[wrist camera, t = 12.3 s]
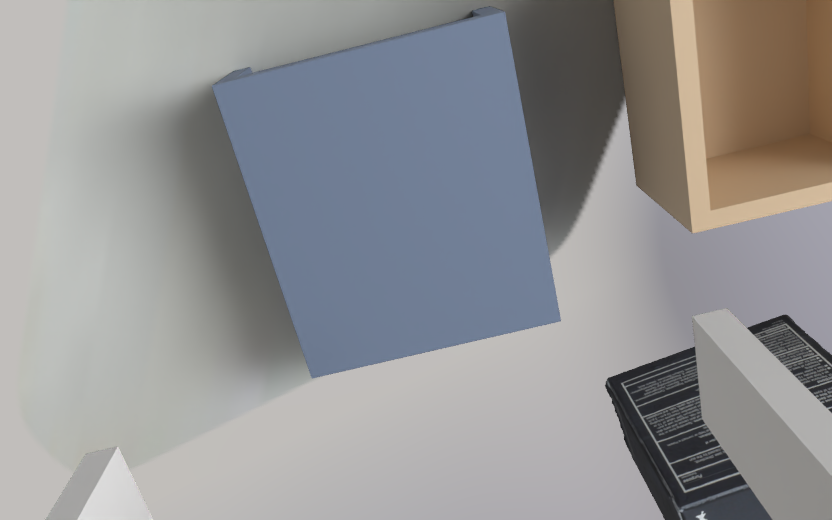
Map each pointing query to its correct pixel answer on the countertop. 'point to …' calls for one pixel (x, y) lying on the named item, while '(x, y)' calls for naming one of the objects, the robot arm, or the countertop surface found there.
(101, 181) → the countertop surface
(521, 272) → the lid
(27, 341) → the countertop surface
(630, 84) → the tray
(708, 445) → the small box
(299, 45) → the countertop surface
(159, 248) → the countertop surface
